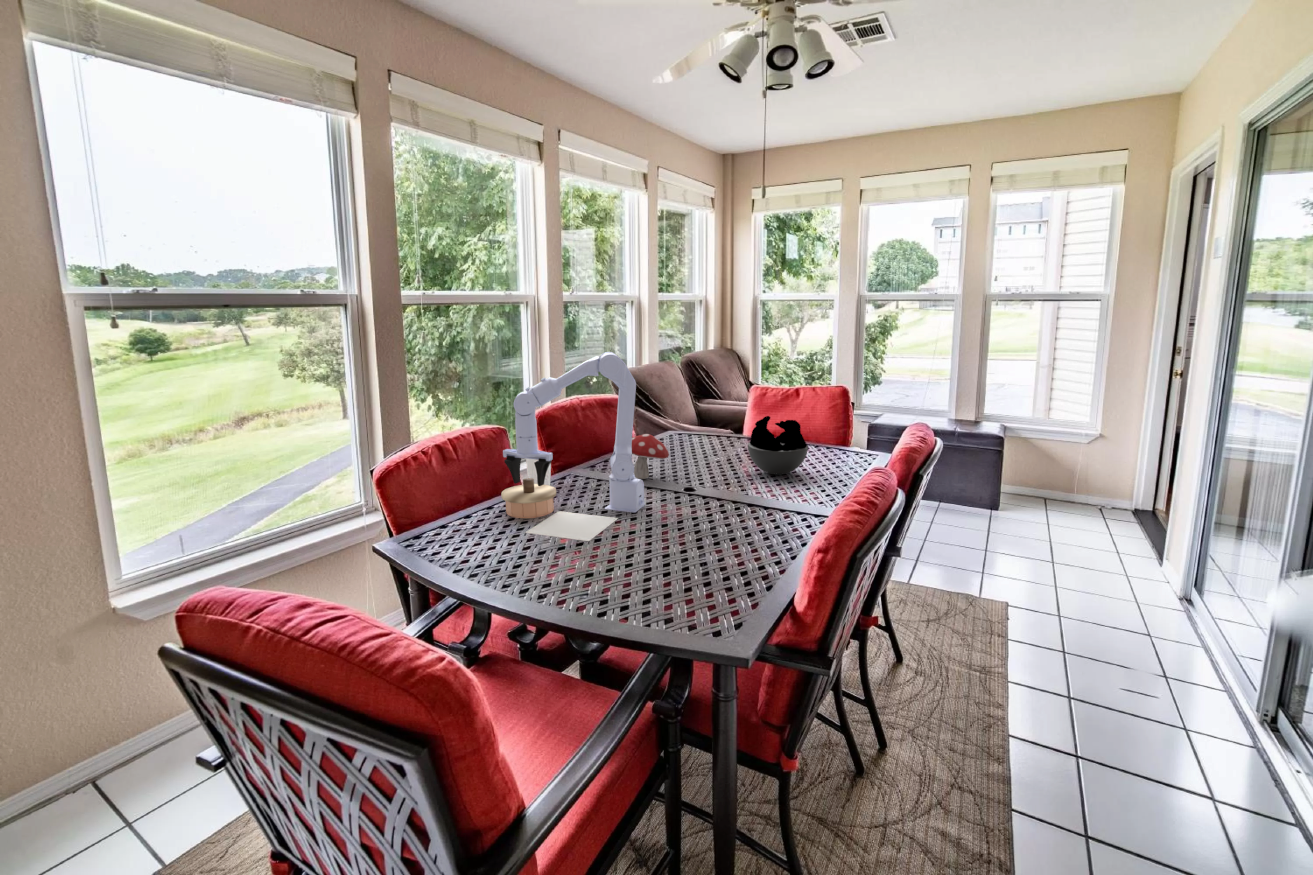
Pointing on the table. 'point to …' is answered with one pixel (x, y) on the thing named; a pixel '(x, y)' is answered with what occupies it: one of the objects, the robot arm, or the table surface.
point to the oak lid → (528, 492)
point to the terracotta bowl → (530, 509)
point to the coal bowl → (777, 447)
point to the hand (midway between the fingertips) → (528, 483)
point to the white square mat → (572, 526)
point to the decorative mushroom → (646, 453)
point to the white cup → (533, 473)
